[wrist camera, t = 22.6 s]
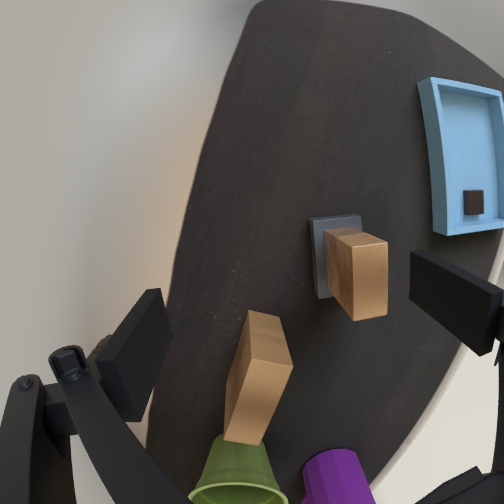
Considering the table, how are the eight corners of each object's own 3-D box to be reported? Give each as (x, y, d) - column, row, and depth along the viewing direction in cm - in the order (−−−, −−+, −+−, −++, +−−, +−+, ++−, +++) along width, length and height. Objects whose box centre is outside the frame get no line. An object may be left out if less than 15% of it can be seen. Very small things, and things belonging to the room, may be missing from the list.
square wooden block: (248, 309, 33) (251, 358, 24) (279, 316, 34) (293, 366, 24) (226, 381, 35) (223, 440, 26) (254, 387, 36) (258, 445, 26)
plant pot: (217, 405, 36) (212, 472, 25) (295, 433, 38) (308, 494, 27) (183, 453, 38) (173, 511, 27) (253, 475, 40) (256, 531, 29)
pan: (416, 83, 28) (430, 76, 25) (486, 95, 28) (501, 91, 25) (432, 231, 32) (447, 236, 29) (498, 222, 32) (513, 226, 29)
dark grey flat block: (463, 190, 31) (467, 190, 30) (478, 189, 31) (483, 189, 30) (463, 214, 31) (468, 215, 30) (479, 213, 31) (484, 214, 30)
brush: (308, 218, 31) (337, 234, 22) (354, 213, 31) (398, 227, 22) (314, 292, 33) (341, 335, 23) (357, 285, 33) (397, 323, 23)
